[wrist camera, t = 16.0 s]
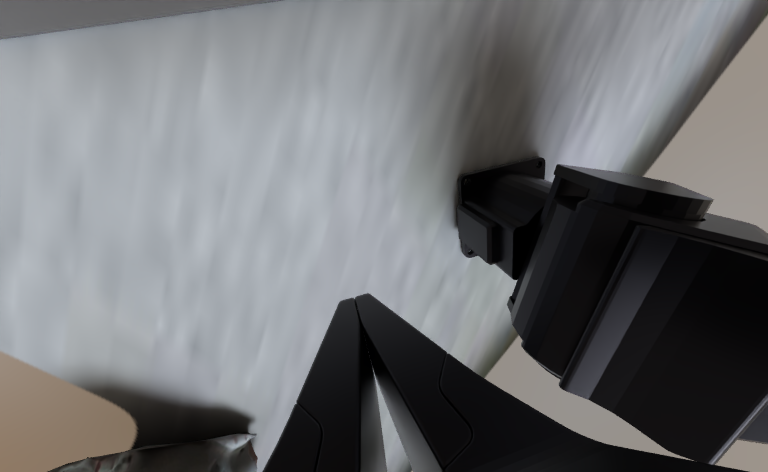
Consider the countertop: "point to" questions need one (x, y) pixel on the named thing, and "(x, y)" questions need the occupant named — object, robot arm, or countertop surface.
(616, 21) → the countertop surface
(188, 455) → the lucky cat figurine
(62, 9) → the slate mat
